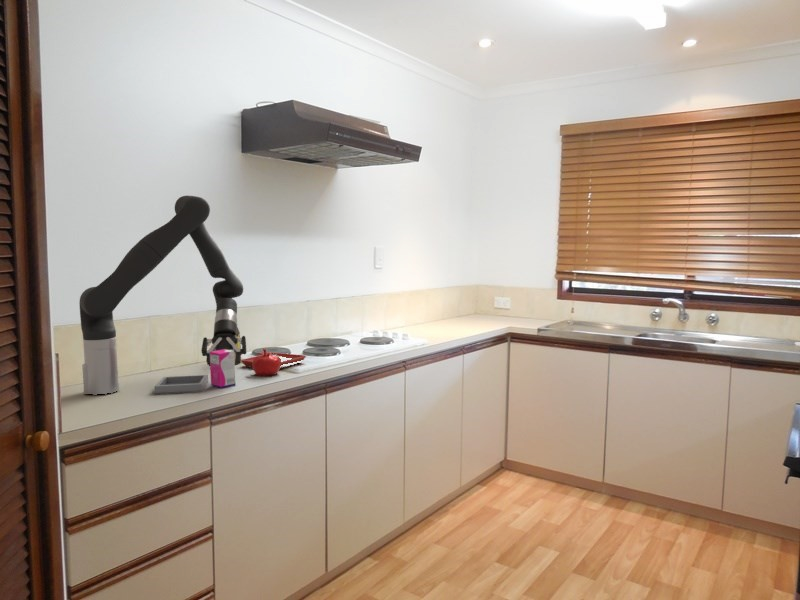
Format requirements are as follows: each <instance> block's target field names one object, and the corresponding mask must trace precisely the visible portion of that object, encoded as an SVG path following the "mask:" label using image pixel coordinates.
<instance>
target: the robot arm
mask: <svg viewBox="0 0 800 600" xmlns="http://www.w3.org/2000/svg"><path fill="white" fill-rule="evenodd" d="M174 212H175V215H174V216H173V217H172V218H170V220H169V221H168V222H166V223H165V224H163V225H161V226H160V227H158V228H156V229H154V230H152V231H151V232H149V233H148V234H146V235H145V236H144V237H143V238H141V239H140V240H139V241H138V242H136V244H134V245H133V246H132V248H130V250H129V251H128V252H127V253H126V254H125V255H124V257H123V258H122V260H121V261H120V263H119V264H118V265H117V266H116V269H115V270H114V271H113V272H112V273H111V274H110V275H109V276H108V277H106V278H105V279H104V280H103V281H102V282H101V283H99V284H98V285H97V286H91V287H89V288H87V289H85V290H84V291H83V292H82V293H81V294H80V296H79V302H78V303H79V315H80V328H81V332H82V342H83V357H84V363H83V364H82V381H83V382H82V383H83V395H84V394H93V395H92V396H98V395H97V394H105V395H108V394H107V393H111V394H114V393H113V392H115V393H117V392H119V391H118V390H120V383H119V369H118V368H119V367H118V349H117V346H118V345H117V334H116V333H117V331H116V330H117V329H116V327H115V324H114V322H115V321H114V316H113V315H114V313H113V311H115V309H116V308H117V307H118V305H119V304H120V303H121V301H122V300H123V299H124V298H125V297H126V295H127V294H128V293H129V292H130V291H131V290H132V289H133V288H134V287H135V286H136V285H137V284H138V283H140V282H141V281H142V280H144V278H145V277H147V275H149V274H150V273H151V272H152V271H154V270H155V269H156V268H157V266H159V264H161V263H162V262H163V261H164V260H165V258H166V257H167V256H168V255H170V253H171V252H172V251H173V250H175V248H176V247H177V246H178V245H179V244H180V243H181V242H182V241H183V240H184V239H185V238H186V237H187V236H188V235H189V236H190V237H191V239H192V241H193V242H194V245H195V246H196V248H197V251H198V252H199V254H200V256H201V258H202V260H203V262H204V265H205V266H206V269H207V271H208V273H209V275H210V276H211V278H213V279H223V280H220V281H217V282H215V284H214V285H213V286H212V293H213V297H214V299H215V300H214V301H215V305H216V308H215V309H216V310H215V317H214V326H213V337H212V338H207V337H206V336H205V337H203V339H202V345H201V350H200V351H201V356H202V357H206V364H207V365H208V367H210V352H211V351H217V350H222V349H226V350H232V351H234V353H236V359H235V363H236V364H235V366H239V364H240V363H241V362H240V357H241V358H242V355H247V341H246V340H247V339H246V336H245V335H242V336H241V337H240V338H237V327H238V316H237V315H238V314H237V313H238V303H237V301H236V300H235V299H234V298H239V297H240V296H242V295H243V292H244V286H243V283H242V281H241V280H240V278H239V277H238V276H237V275H236V274H235V273H234V271H233V270H232V269H231V268H230V266H229V265H228V262H227V259H226V258H225V255H224V253H223V251H222V249H221V247H219V245H218V244H217V242H216V241H215V239H214V238H213V237H212V235H211V234H210V232H209V231H208V229H207V227H206V225H205V222H206V220H207V219H208V218H209V216H210V213H211V207H210V204H209V202H208V201H207V200H206V199H205V198H203V197H200V196H195V195H181V196H180V197H178V198H177V200H176V201H175V203H174ZM237 342H240V345H241V349H239V348H238V347H237V345H236V344H237ZM211 344H212V345H211ZM210 345H211V346H210ZM209 346H210V348H208V347H209ZM116 391H117V392H116Z"/></svg>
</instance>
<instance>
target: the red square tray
mask: <svg viewBox="0 0 800 600" xmlns="http://www.w3.org/2000/svg"><path fill="white" fill-rule="evenodd" d="M273 353H274V354H275V353H276V354H277V355H279V356H282V357H286V358H292V359H291V360H287V361H283V362H281V365H283V364H288V363H293V362H297V361H301V360H303V361H304V360H305V358H306V357H307V355H303V354H293V353H291V354H290V353H282V352H281V353H280V352H273ZM257 356H258V355H255V356H252V357H247V358H243V359H241V362H240V363H242V364H243V365H245V366H246V368H252V362H253V360H254V358H255V357H257Z"/></svg>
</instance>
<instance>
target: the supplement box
mask: <svg viewBox="0 0 800 600" xmlns="http://www.w3.org/2000/svg"><path fill="white" fill-rule="evenodd" d="M235 366H236V364H235V361H234V351H232V350H226V349H222V350H217V351H211V352H210V366H209V367H210V369H209V370H210V385H211V387H215V388H219V389H224V388H229V387H233V386H236V367H235Z"/></svg>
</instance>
